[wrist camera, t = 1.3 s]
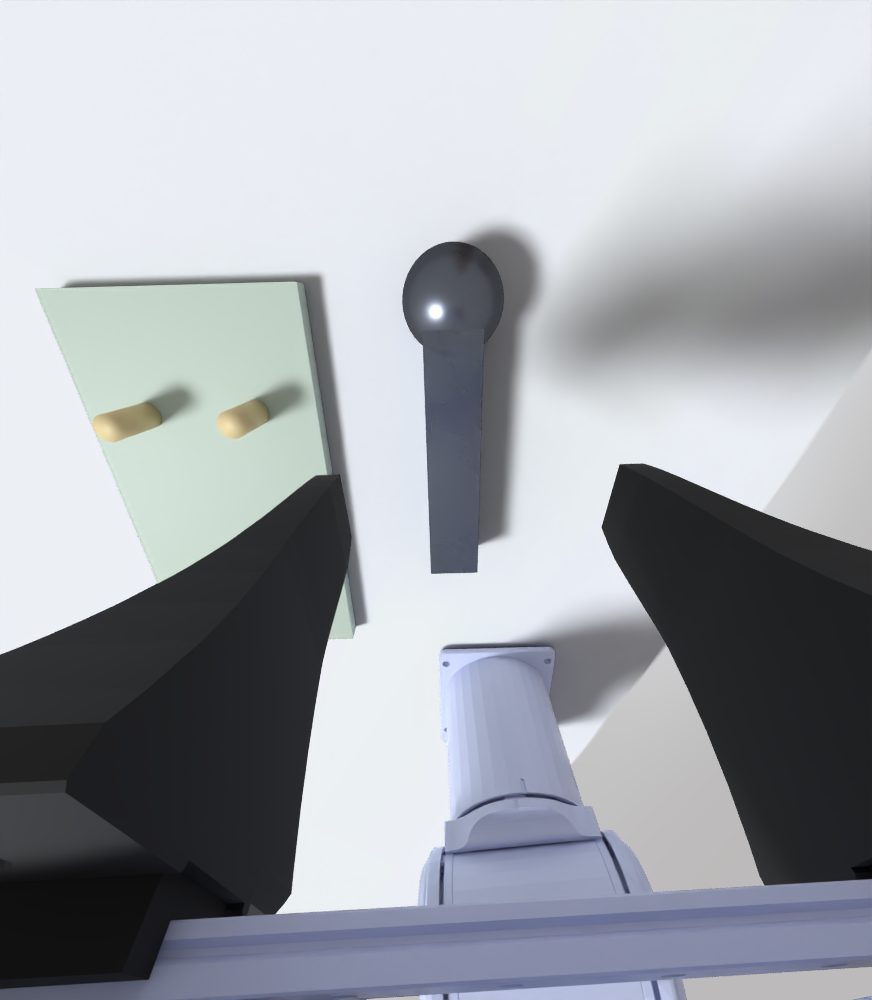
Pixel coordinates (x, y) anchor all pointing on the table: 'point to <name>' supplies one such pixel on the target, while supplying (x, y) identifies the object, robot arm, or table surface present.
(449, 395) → the dark grey spoon shape
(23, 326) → the table surface
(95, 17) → the table surface
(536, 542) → the table surface
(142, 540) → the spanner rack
